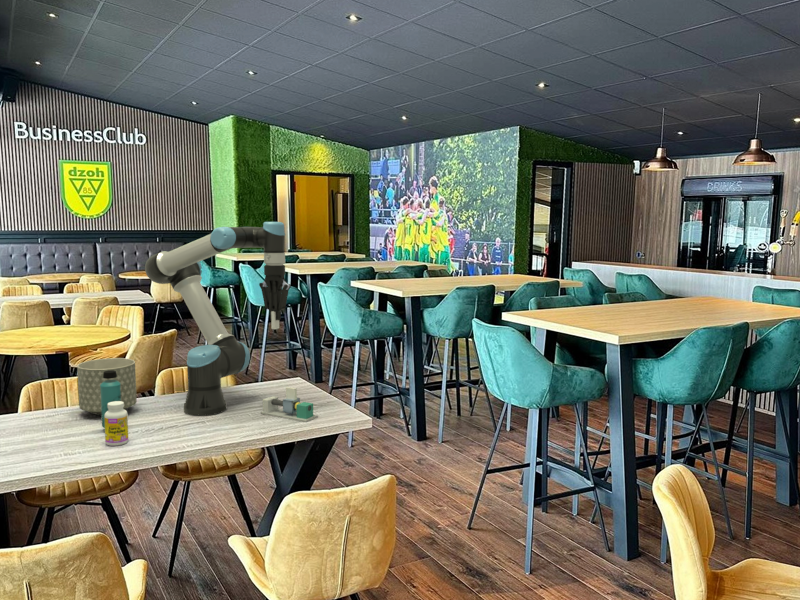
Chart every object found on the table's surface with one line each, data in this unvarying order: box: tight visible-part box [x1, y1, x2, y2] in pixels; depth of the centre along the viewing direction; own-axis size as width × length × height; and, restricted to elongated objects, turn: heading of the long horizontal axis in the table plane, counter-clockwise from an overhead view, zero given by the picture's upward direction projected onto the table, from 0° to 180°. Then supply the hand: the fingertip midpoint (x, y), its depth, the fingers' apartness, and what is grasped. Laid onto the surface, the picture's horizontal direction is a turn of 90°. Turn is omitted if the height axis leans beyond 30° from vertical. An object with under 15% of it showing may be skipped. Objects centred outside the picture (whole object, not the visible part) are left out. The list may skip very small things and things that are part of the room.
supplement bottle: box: [104, 401, 129, 447], centre depth 204 cm, size 7×7×13 cm
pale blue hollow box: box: [282, 386, 301, 414], centre depth 234 cm, size 4×5×9 cm
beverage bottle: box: [100, 370, 122, 429], centre depth 216 cm, size 6×7×20 cm
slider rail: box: [260, 395, 319, 423], centre depth 235 cm, size 20×7×5 cm, turn 62°
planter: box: [76, 357, 137, 416], centre depth 236 cm, size 19×19×18 cm
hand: (275, 328), depth 239 cm, fingers closed
